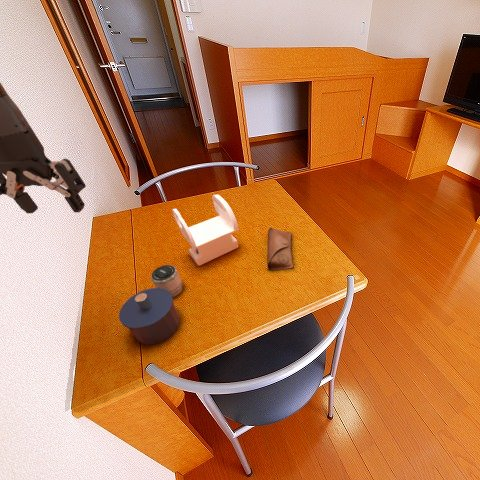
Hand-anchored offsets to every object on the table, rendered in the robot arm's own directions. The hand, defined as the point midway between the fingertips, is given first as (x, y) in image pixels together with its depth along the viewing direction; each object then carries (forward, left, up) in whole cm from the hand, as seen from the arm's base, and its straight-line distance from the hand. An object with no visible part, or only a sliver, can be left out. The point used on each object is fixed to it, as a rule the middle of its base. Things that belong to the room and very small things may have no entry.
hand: (56, 210), depth 55 cm
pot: (-3, -14, -30) cm, 33 cm away
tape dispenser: (+26, -12, -30) cm, 42 cm away
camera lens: (+8, -10, -30) cm, 33 cm away
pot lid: (-3, -14, -23) cm, 27 cm away
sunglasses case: (+33, -33, -30) cm, 55 cm away
